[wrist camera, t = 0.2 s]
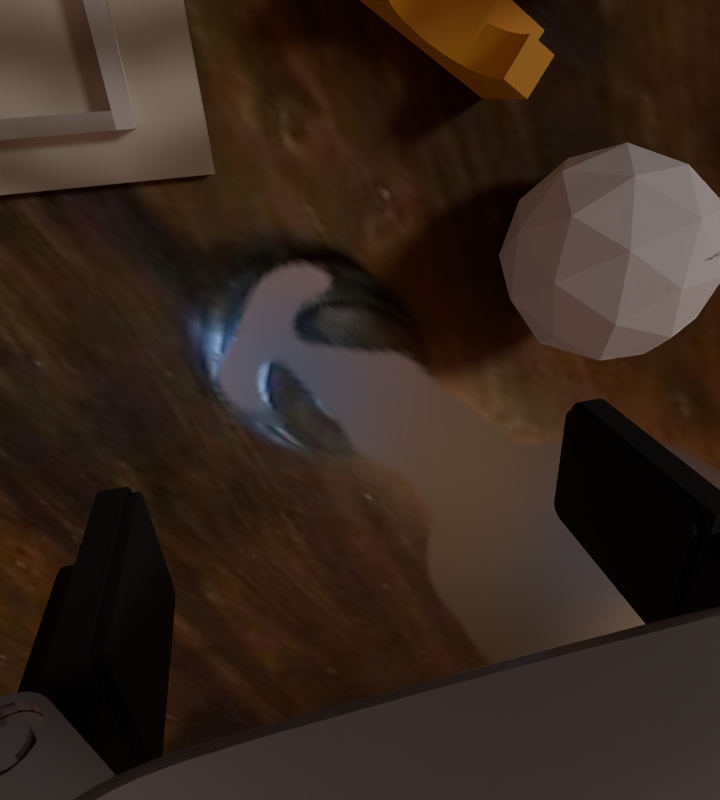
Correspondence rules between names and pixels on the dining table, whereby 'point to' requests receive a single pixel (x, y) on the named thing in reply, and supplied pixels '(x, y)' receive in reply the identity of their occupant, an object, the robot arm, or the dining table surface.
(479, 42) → the orange blocky piece
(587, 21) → the dining table surface
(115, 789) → the robot arm
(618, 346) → the geodesic sphere
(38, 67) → the grey square framed plate
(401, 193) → the dining table surface
